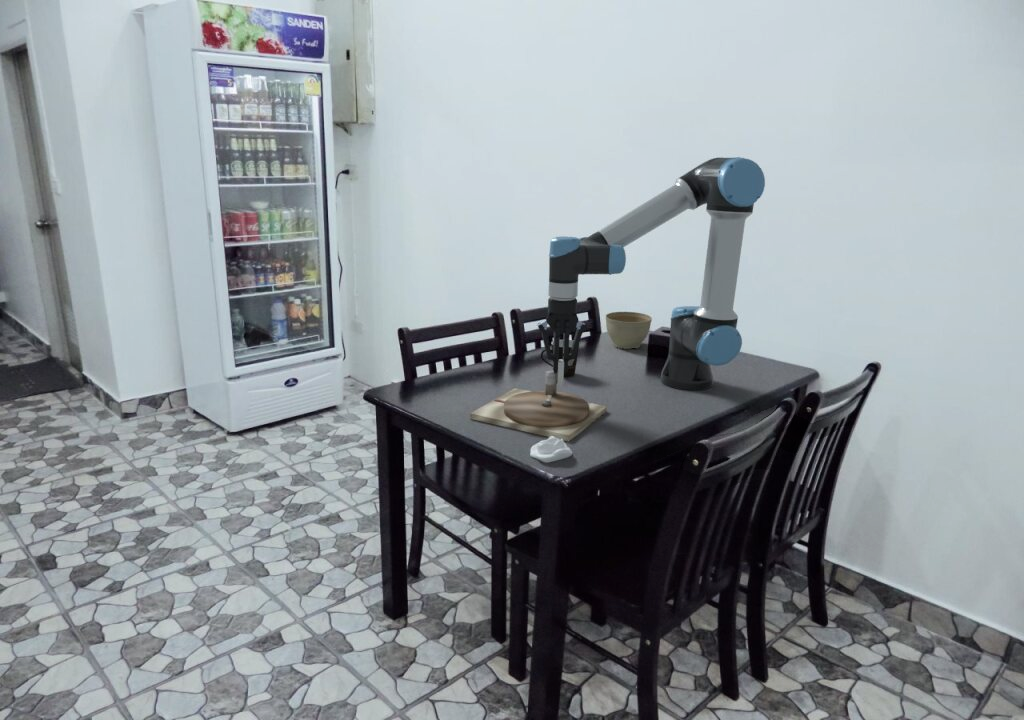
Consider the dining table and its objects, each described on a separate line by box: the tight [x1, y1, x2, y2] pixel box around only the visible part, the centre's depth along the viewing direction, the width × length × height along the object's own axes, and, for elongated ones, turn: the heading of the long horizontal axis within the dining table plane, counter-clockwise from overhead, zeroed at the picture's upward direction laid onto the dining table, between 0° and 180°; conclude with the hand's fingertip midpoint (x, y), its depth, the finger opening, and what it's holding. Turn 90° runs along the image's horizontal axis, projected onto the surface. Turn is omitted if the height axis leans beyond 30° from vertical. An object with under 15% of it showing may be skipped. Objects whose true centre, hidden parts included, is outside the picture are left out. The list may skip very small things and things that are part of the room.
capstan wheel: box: [504, 370, 589, 427], centre depth 174 cm, size 22×22×8 cm
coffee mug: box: [540, 339, 580, 379], centre depth 209 cm, size 12×9×10 cm
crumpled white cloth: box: [529, 436, 573, 464], centre depth 153 cm, size 10×4×10 cm
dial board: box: [469, 388, 608, 442], centre depth 176 cm, size 28×23×2 cm
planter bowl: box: [605, 311, 653, 350], centre depth 241 cm, size 16×16×11 cm
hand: (559, 383), depth 182 cm, fingers closed
